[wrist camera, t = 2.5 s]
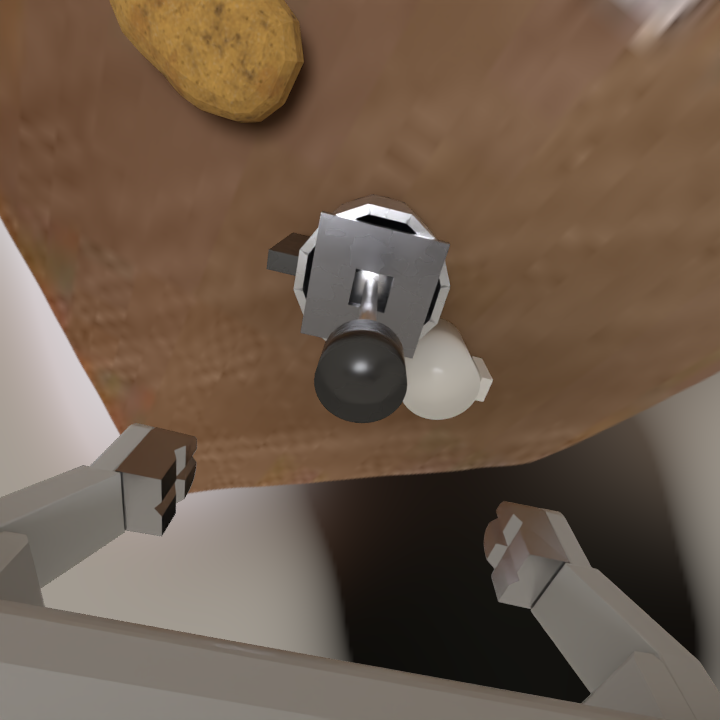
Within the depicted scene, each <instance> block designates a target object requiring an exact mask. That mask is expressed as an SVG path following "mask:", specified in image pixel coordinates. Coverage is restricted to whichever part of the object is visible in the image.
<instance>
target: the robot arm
mask: <svg viewBox="0 0 720 720" xmlns="http://www.w3.org/2000/svg"><path fill="white" fill-rule="evenodd" d="M196 449H197V438H196V437H195V436H191V435H187V434H183V433H179V432H174V431H170V430H166V429H162V428H157V427H156V428H155V427H151V426H147V425H143V424H139V423H135V424H132V425H130V426H129V427H128V428H127V429H126V430H125V431H124V432H123V433H122V434H121V435H120V436H119V438H117V439H116V440H115V441H114V442H113V443H112V444H111V446H109V447H108V448H107V449H106V450H105V451H104V453H102V454H101V455H100V456H99V457H98V458H97V459H96V461H94V462H93V464H92V465H91V466H84V465H83V466H80V467H77V468H75V469H72V470H70V471H67V472H65V473H62V474H60V475H57V476H55V477H52V478H49V479H47V480H44V481H42V482H39V483H36V484H34V485H31V486H29V487H26V488H24V489H21V490H19V491H16V492H13V493H11V494H8V495H6V496H3V497H1V498H0V720H720V692H719V691H718V690H717V688H716V686H715V685H714V683H713V682H712V680H711V679H710V677H709V676H708V674H707V672H706V671H705V669H704V668H703V666H702V665H701V663H700V662H699V661H698V660H697V659H696V658H695V657H694V656H693V655H692V654H690V653H689V652H688V651H687V650H686V649H685V648H684V647H683V646H682V645H681V644H679V643H678V642H677V641H676V640H675V639H674V638H673V637H672V636H671V635H669V634H668V633H667V632H666V631H665V630H664V629H663V628H662V627H661V626H660V625H658V624H657V623H656V622H655V621H654V620H653V619H652V618H651V617H650V616H649V615H647V614H646V613H645V612H644V611H643V610H642V609H640V607H639V606H638V605H636V604H635V603H634V602H633V601H632V600H631V599H630V598H629V597H627V596H626V595H625V594H624V593H623V592H622V591H621V590H620V589H619V588H618V587H616V586H615V585H614V584H613V583H612V582H611V581H610V580H609V579H608V578H606V576H604V575H603V574H602V573H601V572H600V571H599V570H598V569H594V568H591V566H590V564H589V562H588V560H587V558H586V556H585V555H584V553H583V551H582V549H581V547H580V545H579V543H578V542H577V540H576V538H575V536H574V534H573V532H572V530H571V528H570V526H569V525H568V523H567V521H566V519H565V517H564V516H563V515H562V514H561V513H560V512H557V511H552V510H547V509H541V508H540V509H539V508H536V507H531V506H525V505H521V504H516V503H511V502H505V501H504V502H502V503H501V504H500V505H499V507H498V509H497V510H496V512H497V515H498V518H497V519H495V520H494V521H492V522H490V523H489V525H488V527H487V529H486V531H485V537H484V550H485V554H486V558H487V560H488V561H489V563H490V564H491V565H492V566H493V567H494V568H495V569H494V571H493V573H492V575H491V577H492V580H493V584H494V587H495V591H496V595H497V598H498V601H499V602H502V603H507V604H511V605H516V606H520V607H525V608H529V609H532V610H531V612H532V613H533V615H534V616H535V617H536V619H537V620H538V621H539V623H540V624H541V625H542V627H543V628H544V630H545V631H546V632H547V634H548V635H549V636H550V638H551V639H552V641H553V642H554V643H555V645H556V646H557V647H558V649H559V650H560V652H561V653H562V654H563V655H564V657H565V658H566V660H567V661H568V662H569V664H570V665H571V667H572V668H573V669H574V671H575V672H576V673H577V675H578V676H579V678H580V679H581V680H582V682H583V683H584V684H585V686H586V687H587V688H588V690H589V691H590V693H591V695H590V696H589V697H588V698H587V699H586V700H585V701H583V703H582V704H580V703H574V702H568V701H563V700H557V699H551V698H546V697H541V696H535V695H530V694H524V693H518V692H513V691H507V690H502V689H496V688H490V687H485V686H479V685H474V684H469V683H463V682H458V681H452V680H446V679H441V678H435V677H430V676H424V675H419V674H412V673H408V672H402V671H396V670H390V669H385V668H380V667H374V666H369V665H363V664H358V663H352V662H346V661H341V660H335V659H330V658H324V657H318V656H313V655H307V654H301V653H296V652H291V651H285V650H280V649H274V648H268V647H263V646H257V645H252V644H246V643H241V642H235V641H230V640H223V639H218V638H213V637H207V636H202V635H196V634H191V633H185V632H179V631H174V630H168V629H163V628H157V627H152V626H146V625H141V624H135V623H130V622H124V621H118V620H113V619H108V618H102V617H97V616H91V615H86V614H80V613H74V612H69V611H63V610H58V609H52V608H46V607H45V605H44V601H43V598H42V593H41V588H42V587H44V586H45V585H47V584H48V583H50V582H51V581H52V580H54V579H55V578H57V577H59V576H60V575H62V574H63V573H65V572H66V571H68V570H69V569H71V568H72V567H74V566H75V565H77V564H78V563H80V562H81V561H82V560H84V559H86V558H87V557H88V556H90V555H92V554H93V553H94V552H96V551H97V550H99V549H100V548H102V547H103V546H105V545H106V544H108V543H109V542H111V541H112V540H114V539H115V538H117V537H118V536H120V535H121V534H123V533H124V532H125V530H127V531H133V532H139V533H145V534H151V535H157V536H162V535H163V533H164V532H165V530H166V528H167V527H168V525H169V523H170V522H171V520H172V519H173V517H174V515H175V513H176V503H178V502H179V501H181V500H183V499H185V497H186V495H187V493H188V492H189V490H190V487H191V485H192V482H193V480H194V476H195V471H196V461H195V460H194V458H193V457H192V455H193V454H194V452H195V451H196Z"/></svg>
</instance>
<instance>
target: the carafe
mask: <svg viewBox="0 0 720 720" xmlns="http://www.w3.org/2000/svg"><path fill="white" fill-rule="evenodd" d="M449 246H450V244H449V243H448V242H445V241H441V240H437V239H436V238H435V236H434V235H433V234H432V232H431V231H430V230H429V228H428V227H427V226H426V225H425V223H424V222H423V221H422V220H421V219H420V218H419V217H418V216H417V215H416V214H415V213H414V212H413V211H412V210H411V209H410V208H409V207H408V206H407V205H406V203H404V202H401V201H397V200H394V199H391V198H388V197H383V196H378V195H374V194H372V195H369V196H366V197H362V198H358V199H356V200H353V201H351V202H348V203H345V204H342V205H341V206H340V207H338V208H337V209H336V210H335V211H334V212H333V213H329V212H325V211H322V212H321V216H320V222H319V227H318V229H317V230H316V231H315V232H314V233H313V235H312V236H311V237H309V236H305V235H301V234H297V233H292V234H290V235H289V236H287V237H286V238H285V239H283V240H282V241H280V242H279V243H277V244H276V245H275V246H273V247H272V248H270V249H269V253H268V261H267V269H269V270H273V271H278V272H282V273H286V274H290V275H294V276H296V277H295V284H294V292H295V295H296V297H297V300H298V302H299V305H300V307H301V310H302V313H303V315H304V316H303V322H302V327H301V333H304V334H308V335H313V336H317V337H321V338H323V339H324V340H325V341H326V340H327V338H328V337H329V335H330V334H331V333H332V332H333V331H334V330H335V329H336V328H337V327H339V326H340V325H342V324H344V323H346V322H349V321H352V320H358V319H359V313H360V307H361V304H359V303H354V302H350V301H349V298H350V294H351V290H352V285H353V281H354V276H355V272H356V268H357V269H361V270H365V271H369V272H373V273H377V274H382V275H386V276H390V277H393V279H392V283H391V286H390V290H389V294H388V298H387V301H386V305H385V309H380V308H377V320H376V321H377V322H380V323H382V324H384V325H386V326H387V327H389V328H390V329H391V330H392V331H393V332H394V333H395V334H396V335H397V336H398V338H399V339H400V341H401V343H402V346H403V350H404V357H407V358H412V359H413V356H414V353H415V350H416V347H417V344H418V341H419V340H420V339H421V338H422V337H423V336H424V335H425V334H427V333H428V332H429V331H430V330H431V329H432V328H433V327H434V326H436V325H437V324H438V321H439V318H440V315H441V312H442V309H443V306H444V303H445V300H446V297H447V295H448V292H449V289H450V283H449V278H448V273H447V268H446V263H445V258H446V255H447V252H448V249H449Z"/></svg>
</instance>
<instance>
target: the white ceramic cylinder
mask: <svg viewBox="0 0 720 720" xmlns="http://www.w3.org/2000/svg"><path fill="white" fill-rule="evenodd" d="M405 366H406V375H407V391H406V395H405V397H404V400H403V403H404V404H405V405H406V407H407V408H408V409H409V410H410V411H412V412H413V413H414V414H416V415H418V416H420V417H423V418H427V419H432V420H442V419H448V418H452V417H454V416H457V415H459V414H461V413H462V412H464V411H465V410H467V409H468V408H469V407H470V406H471V405H472V404H473V402H474V401H475V400H477V401H482V402H483V401H484V399H485V397H486V395H487V392H488V390H489V388H490V386H491V383H492V381H493V379H492V377H491V375H490V373H489V371H488V369H487V367H486V365H485V364H484V362H483V360H482V358H478V357H474V356H472V358H471V356H470V354H469V352H468V350H467V347H466V345H465V343H464V341H463V339H462V337H461V334H460V332H459V331H458V329H457V328H456V327H455V326H454V325H453V324H451V323H450V322H448V321H446V320H444V319H441V318H439V321H438V324H437V325H436V326H434V327H433V328H432V329H431V330H430V331H429V332H428V333H427V334H425V335H424V336H423V337H422V338H421V339H420V340H419V341H418V344H417V347H416V350H415V353H414V356H413V359H412V358H407V357H405Z"/></svg>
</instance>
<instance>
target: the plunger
mask: <svg viewBox="0 0 720 720" xmlns="http://www.w3.org/2000/svg"><path fill="white" fill-rule="evenodd" d="M392 279H393V277H390V276H386V275H382V274H377V273H373V272H369V271H365V270H361V269H357V268H356V272H355V276H354V281H353V285H352V290H351V294H350V298H349V301H350V302H354V303H359V304H361V307H360V313H359V319H358V320H352V321H349V322H346V323H344V324H342V325H340V326H339V327H337V328H336V329H335V330H334V331H333V332H332V333H331V334H330V335H329V337H328V338H327V340H326V343H325V345H324V348H323V351H322V354H321V357H320V360H319V363H318V366H317V369H316V373H315V378H314V385H315V390H316V393H317V396H318V398H319V400H320V402H321V403H322V404H323V406H324V407H325V408H326V409H327V410H328V411H329V412H331V413H332V414H334V415H335V416H337V417H339V418H341V419H343V420H346V421H350V422H355V423H369V422H374V421H378V420H381V419H383V418H385V417H387V416H389V415H390V414H392V413H393V412H394V411H395V410H396V409H397V408H398V407H399V406H400V405H401V403H402V401H403V400H404V397H405V395H406V391H407V375H406V366H405V357H404V350H403V346H402V343H401V341H400V339H399V338H398V336H397V335H396V334H395V333H394V332H393V331H392V330H391V329H390V328H389V327H387V326H386V325H384V324H382V323H380V322H377V321H376V320H377V308H380V309H385V305H386V301H387V298H388V294H389V290H390V286H391V283H392Z"/></svg>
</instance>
